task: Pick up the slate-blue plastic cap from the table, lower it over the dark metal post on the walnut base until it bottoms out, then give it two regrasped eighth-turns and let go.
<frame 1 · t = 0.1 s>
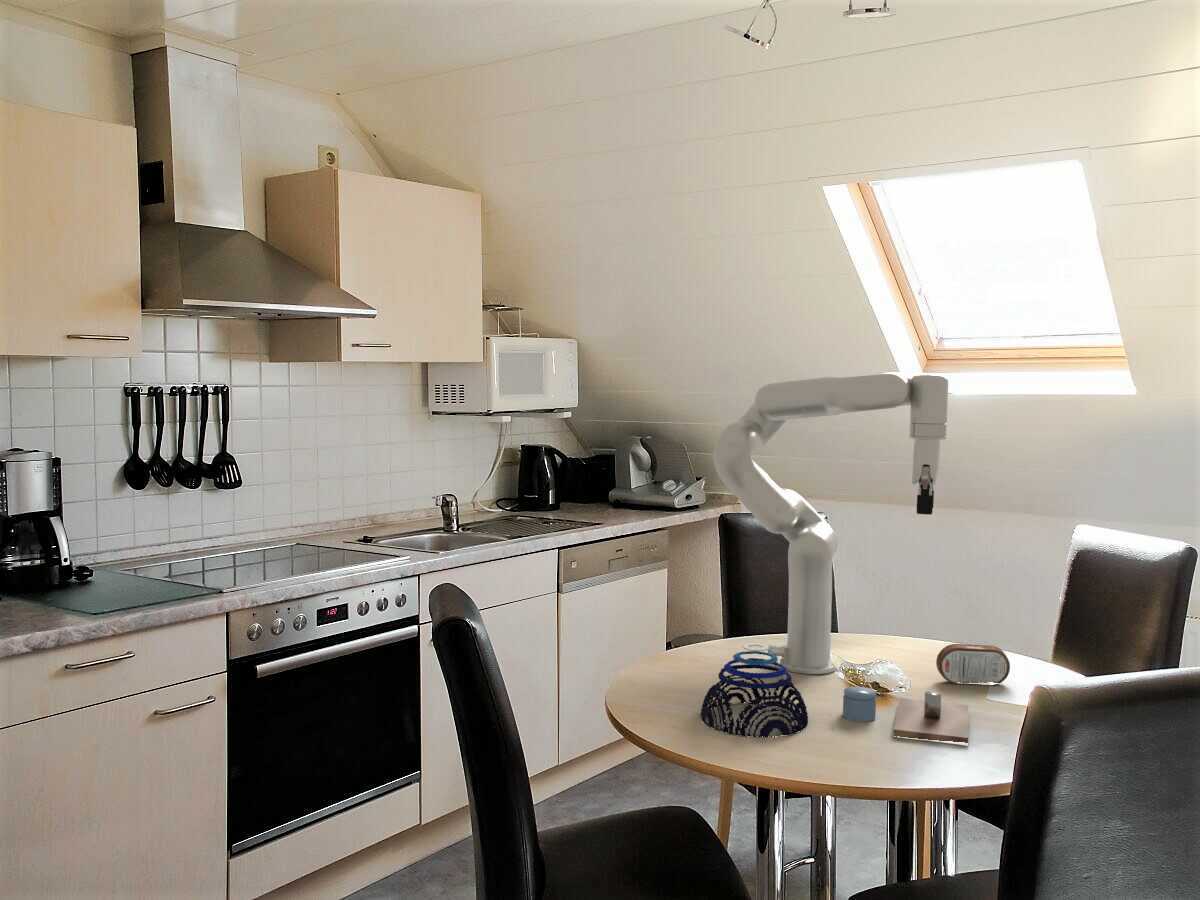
hand: (924, 511, 236), 37 cm above the table, tool pointing down, fingers open, 9 cm apart
decorative bowl: (753, 721, 210), on the table
cap: (859, 716, 212), on the table
post: (932, 705, 208), on the post base, point 4 cm above the table
post base: (931, 724, 208), on the table
tin: (972, 684, 235), on the table
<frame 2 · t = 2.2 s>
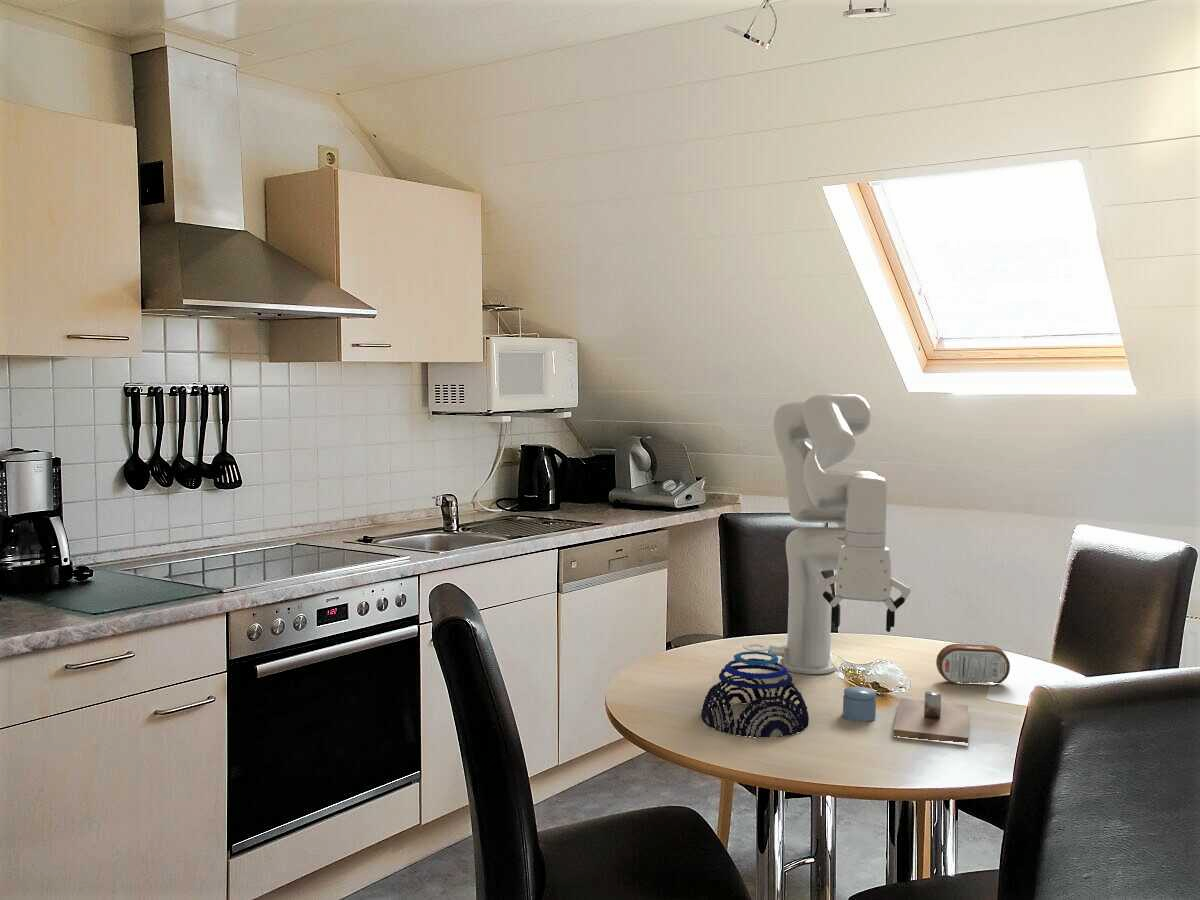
hand: (862, 628, 211), 17 cm above the table, tool pointing down, fingers open, 9 cm apart
nothing on the table moved.
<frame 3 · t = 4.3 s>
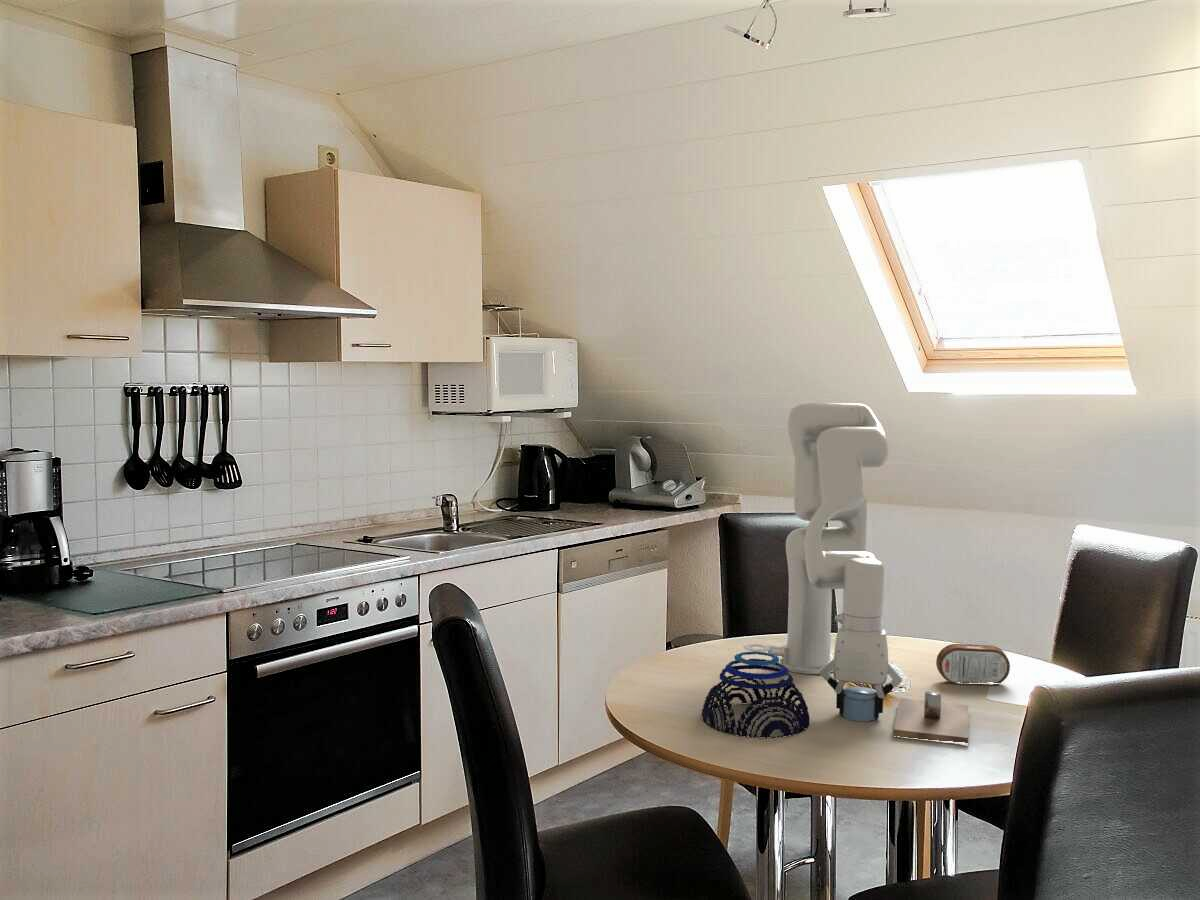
hand: (859, 713, 212), 1 cm above the table, tool pointing down, fingers closed on cap, 6 cm apart
cap: (859, 716, 212), on the table, touching gripper
everything else where it was.
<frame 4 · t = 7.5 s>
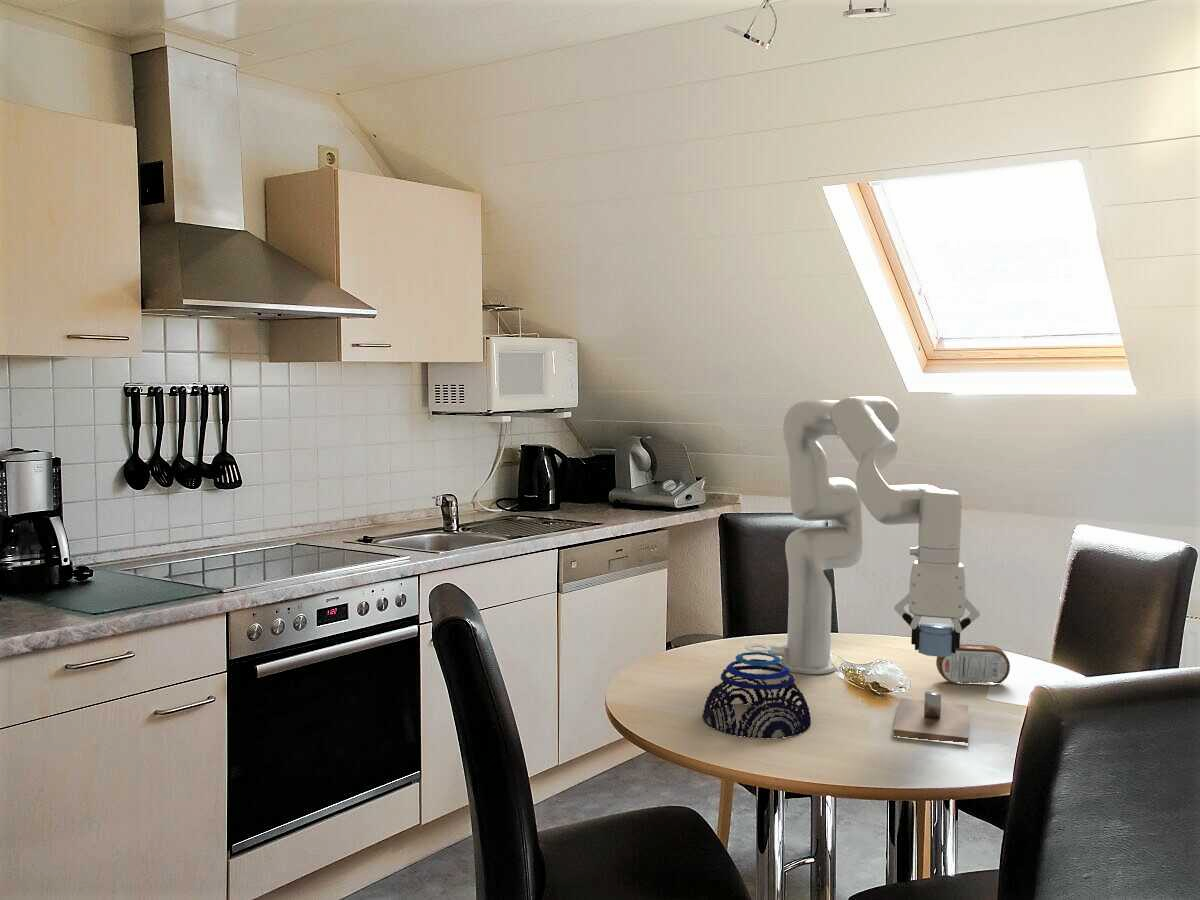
hand: (935, 649, 207), 15 cm above the table, tool pointing down, fingers closed on cap, 6 cm apart
cap: (935, 652, 207), point 14 cm above the table, touching gripper
everything else where it was.
when the fingers open (3 cm above the table, at t = 10.7 s): cap stays where it is, resting on post.
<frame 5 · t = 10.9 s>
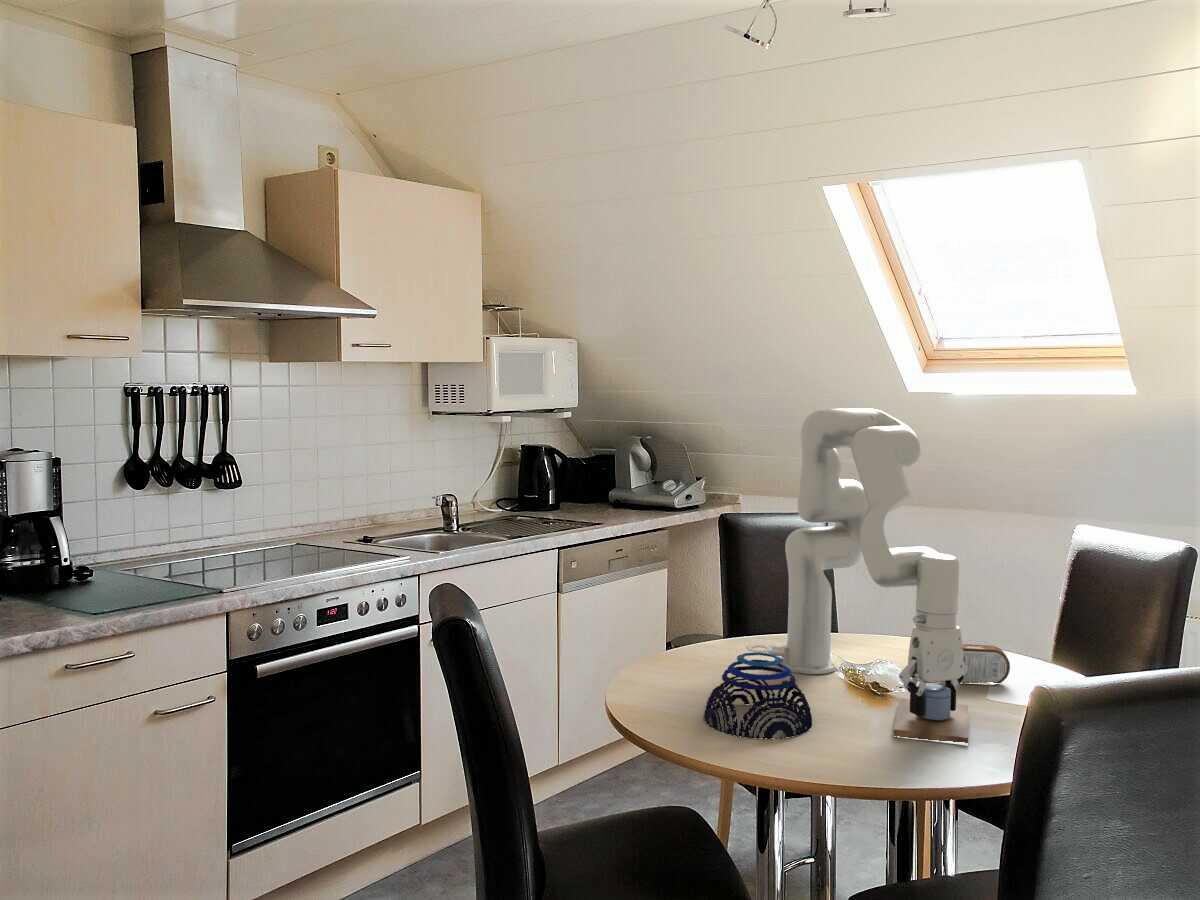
hand: (932, 710, 208), 3 cm above the table, tool pointing down, fingers open, 7 cm apart
cap: (933, 714, 208), point 2 cm above the table, touching post
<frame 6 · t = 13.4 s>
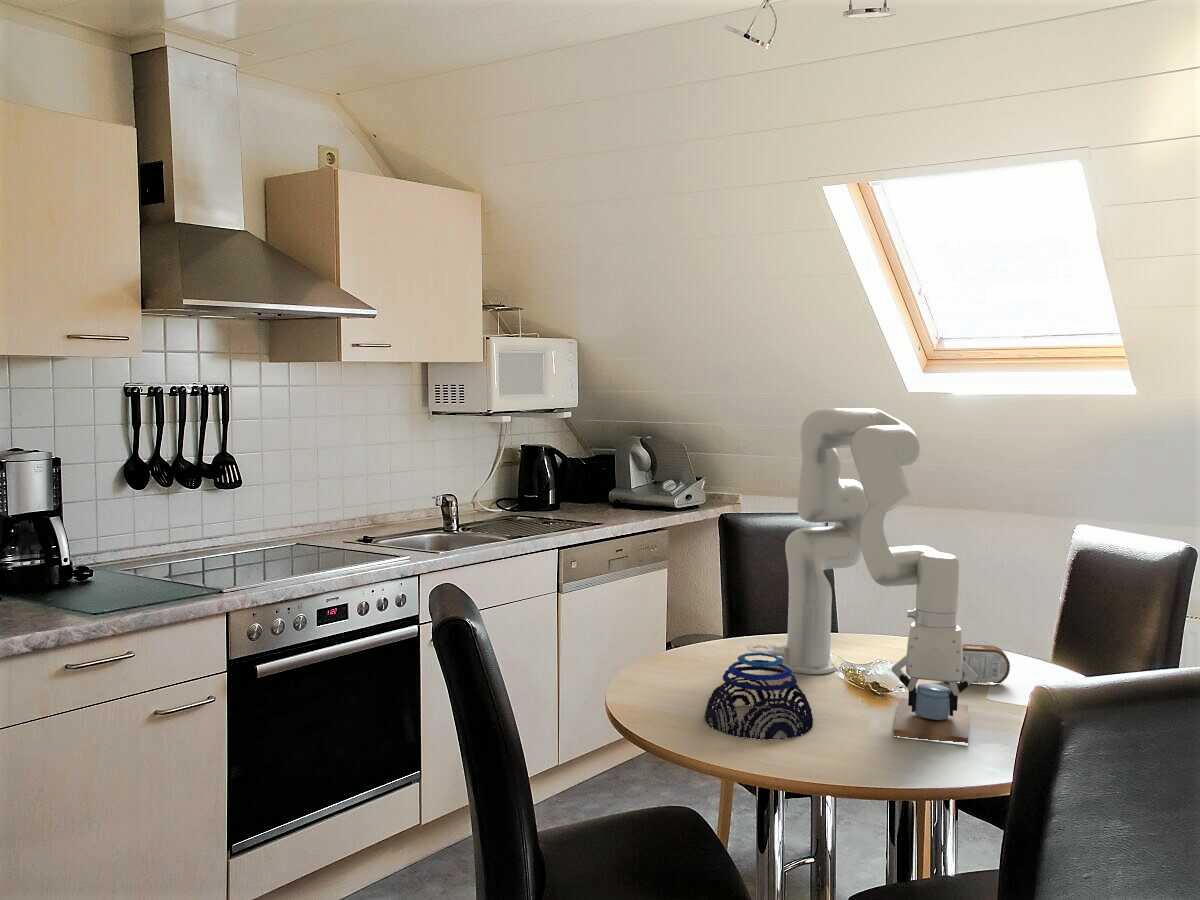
hand: (932, 711, 208), 3 cm above the table, tool pointing down, fingers closed on cap, 6 cm apart
cap: (931, 714, 208), point 2 cm above the table, touching gripper, post
when the fingers open (3 cm above the table, at t = 14.5 s): cap stays where it is, resting on post.
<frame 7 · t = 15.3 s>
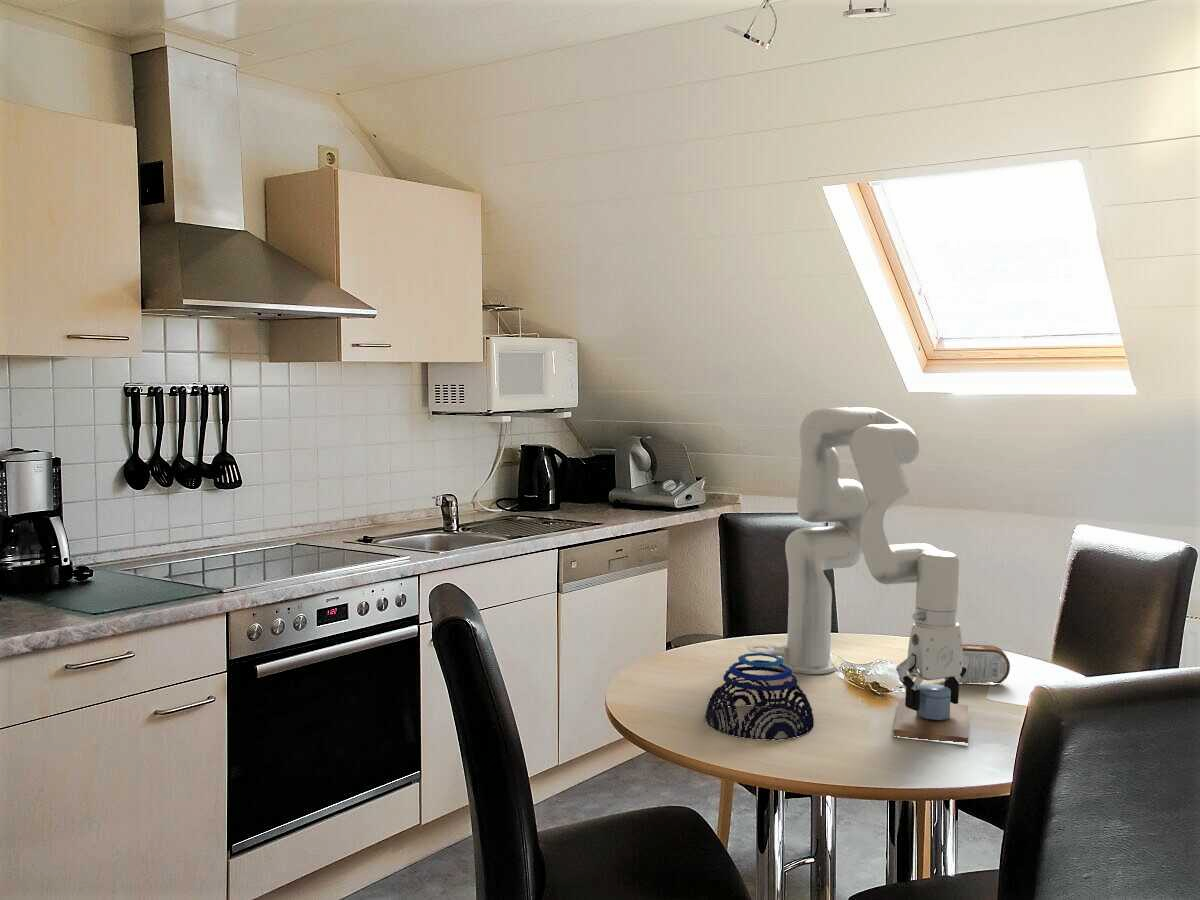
hand: (931, 705, 208), 4 cm above the table, tool pointing down, fingers open, 9 cm apart
cap: (933, 714, 208), point 2 cm above the table, touching post
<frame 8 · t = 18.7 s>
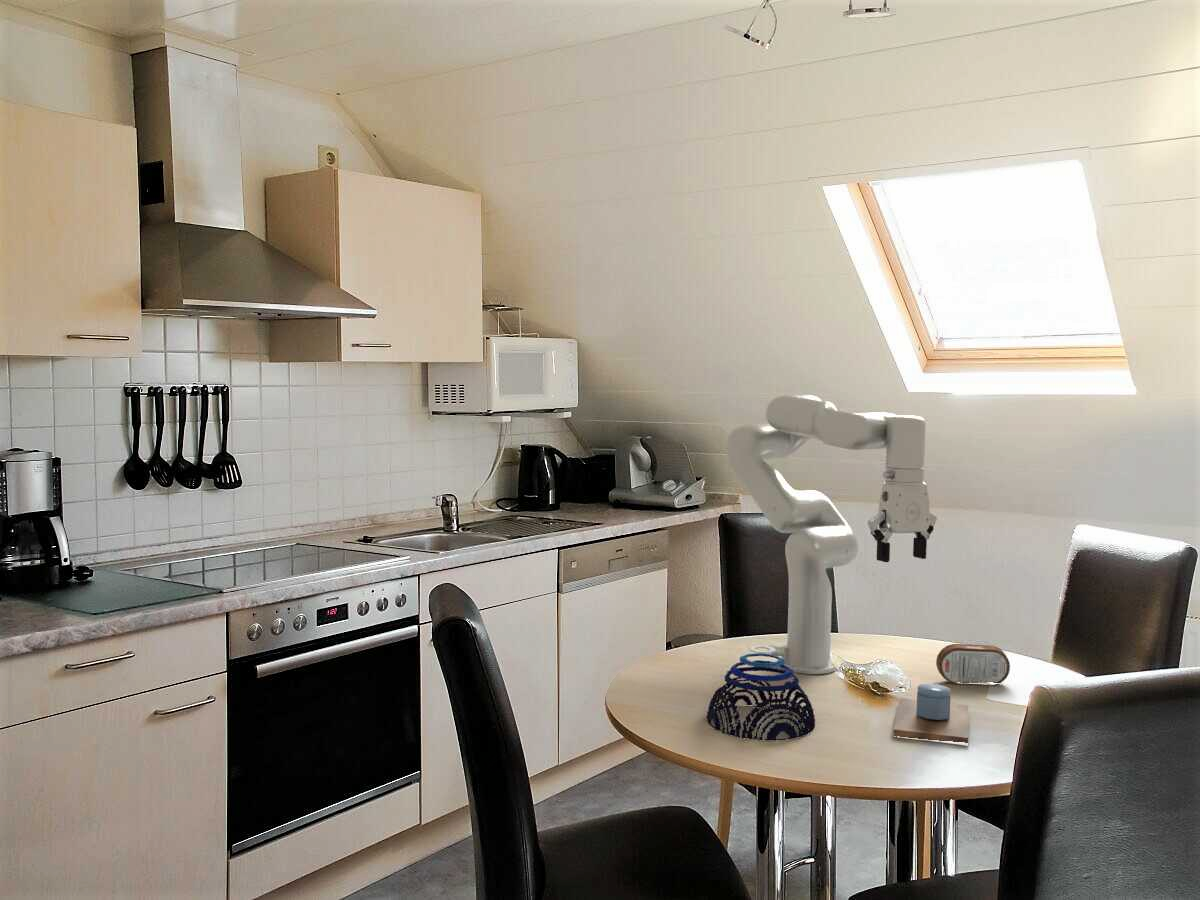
hand: (901, 559, 224), 28 cm above the table, tool pointing down, fingers open, 9 cm apart
at the end: cap 0.1 cm off-centre on the post, point 2.0 cm above the post's base; cap tilted 0°; the gripper is holding nothing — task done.
